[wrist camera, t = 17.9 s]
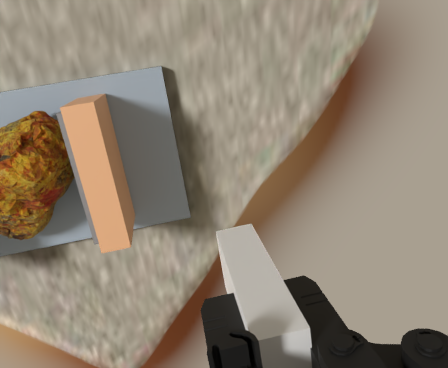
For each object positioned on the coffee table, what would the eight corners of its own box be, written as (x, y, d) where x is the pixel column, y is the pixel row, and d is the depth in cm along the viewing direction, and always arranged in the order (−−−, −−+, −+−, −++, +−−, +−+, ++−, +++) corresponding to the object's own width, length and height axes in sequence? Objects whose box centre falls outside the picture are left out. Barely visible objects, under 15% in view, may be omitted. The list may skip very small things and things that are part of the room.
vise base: (-103, 109, 34) (-179, 124, 26) (161, 66, 36) (162, 68, 29) (-39, 259, 39) (-87, 309, 31) (189, 212, 41) (197, 248, 34)
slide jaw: (71, 99, 35) (51, 109, 28) (105, 93, 35) (93, 101, 28) (104, 221, 39) (94, 254, 32) (135, 214, 39) (130, 247, 32)
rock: (82, 187, 41) (19, 267, 36) (11, 143, 40) (-67, 219, 34) (101, 130, 33) (21, 224, 27) (10, 71, 31) (-95, 156, 25)
